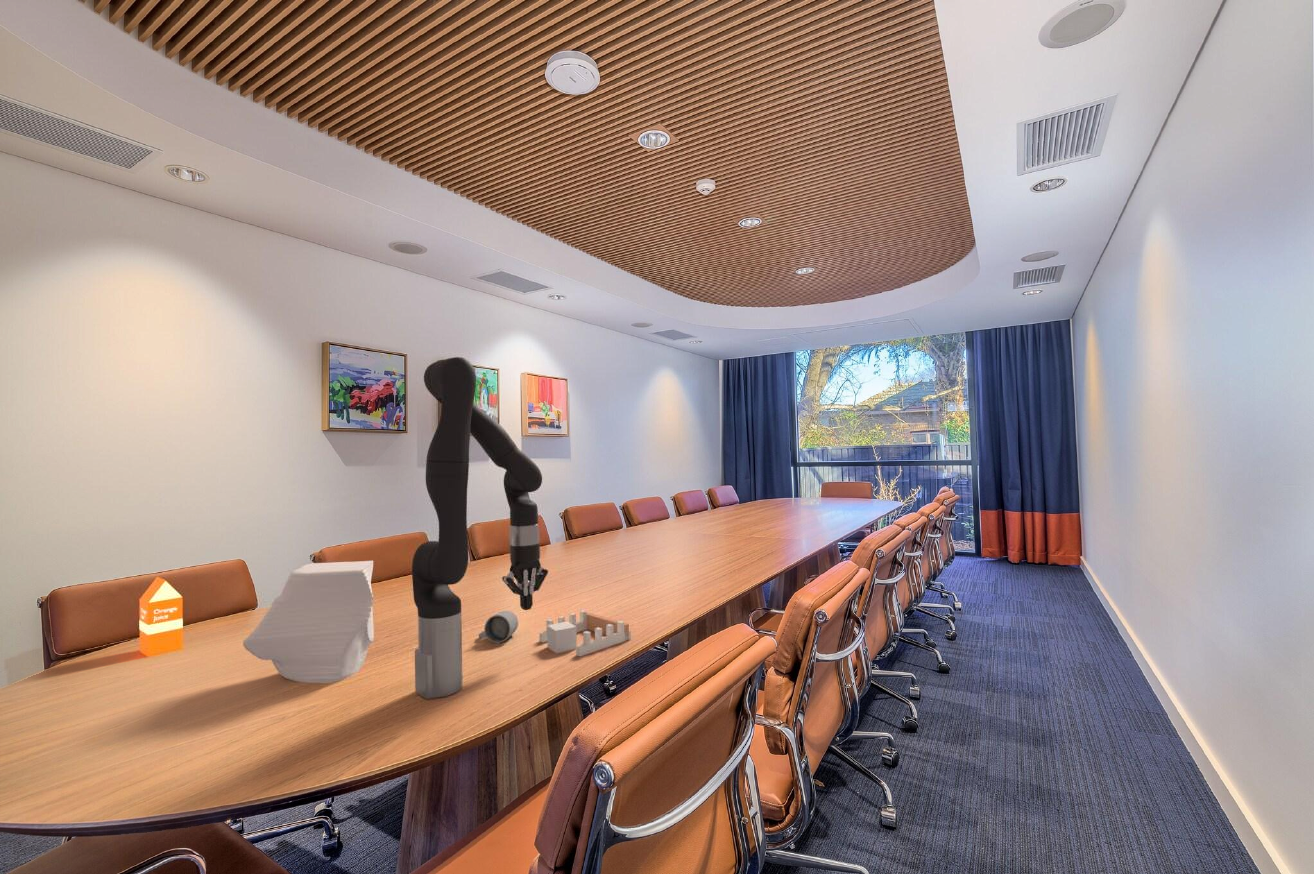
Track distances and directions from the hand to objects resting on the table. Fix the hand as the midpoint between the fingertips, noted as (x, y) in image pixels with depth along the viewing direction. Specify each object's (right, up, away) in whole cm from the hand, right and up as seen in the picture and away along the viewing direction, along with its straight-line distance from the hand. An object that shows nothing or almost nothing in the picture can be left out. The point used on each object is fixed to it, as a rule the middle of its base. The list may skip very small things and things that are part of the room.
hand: (526, 609), depth 151 cm
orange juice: (-105, -16, +13) cm, 107 cm away
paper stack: (-50, -14, -5) cm, 52 cm away
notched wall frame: (+14, -13, +13) cm, 23 cm away
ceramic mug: (-12, -14, +16) cm, 24 cm away
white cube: (+8, -13, +7) cm, 17 cm away
